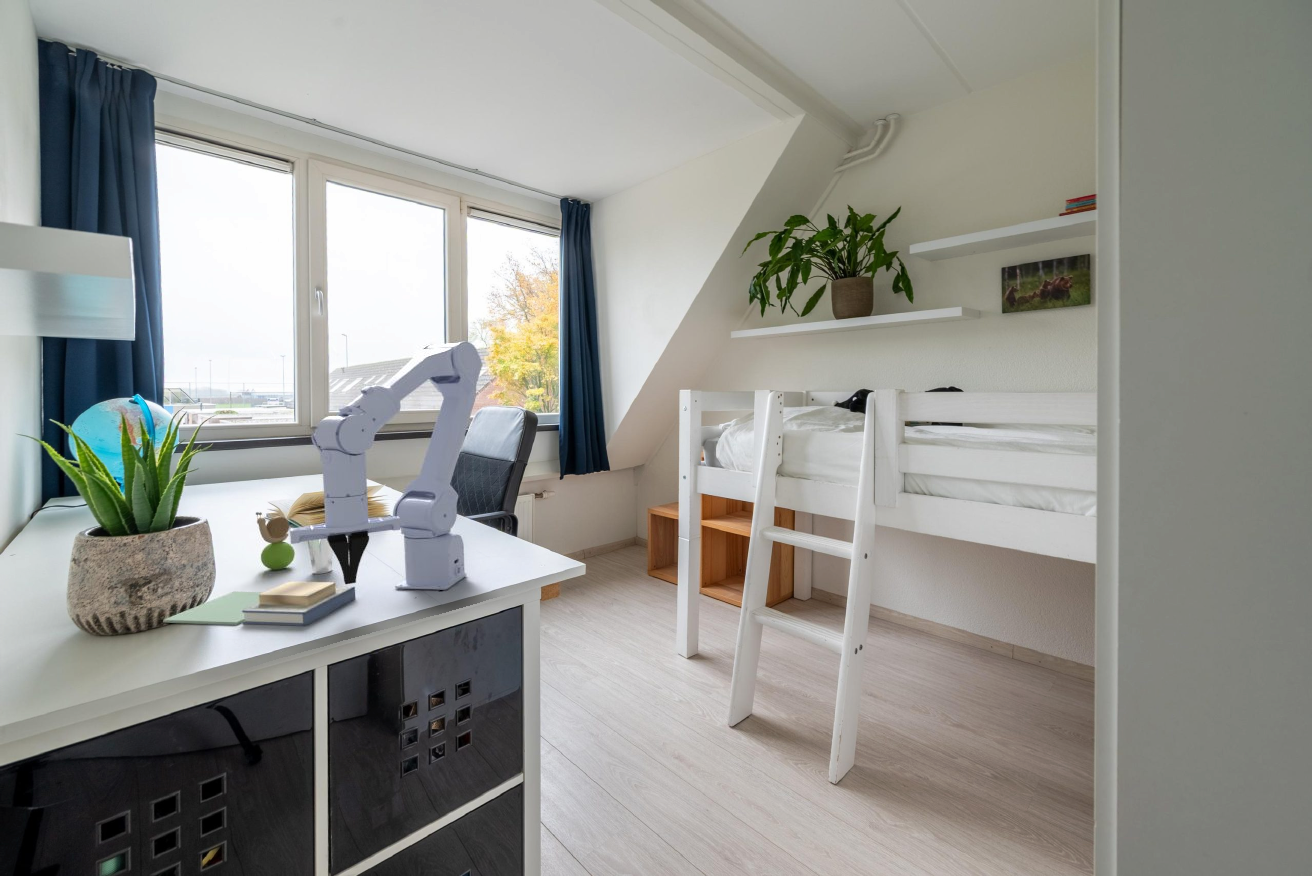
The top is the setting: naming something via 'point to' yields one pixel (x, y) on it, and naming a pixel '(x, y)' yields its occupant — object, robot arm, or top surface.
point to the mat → (219, 610)
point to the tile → (297, 593)
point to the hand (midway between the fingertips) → (350, 582)
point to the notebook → (298, 610)
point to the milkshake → (320, 556)
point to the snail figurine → (275, 542)
